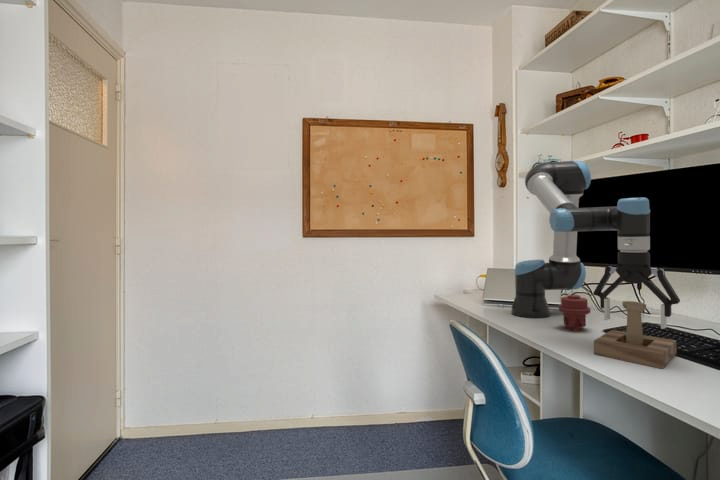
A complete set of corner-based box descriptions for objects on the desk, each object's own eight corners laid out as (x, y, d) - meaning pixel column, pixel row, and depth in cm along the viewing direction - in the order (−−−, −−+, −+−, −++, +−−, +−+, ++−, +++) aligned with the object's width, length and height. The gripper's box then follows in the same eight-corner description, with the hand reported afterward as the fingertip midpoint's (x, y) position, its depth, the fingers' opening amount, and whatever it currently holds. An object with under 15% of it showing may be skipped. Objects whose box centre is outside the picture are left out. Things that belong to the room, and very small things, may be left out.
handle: (632, 357, 104) (632, 305, 103) (619, 350, 110) (618, 301, 110) (651, 358, 103) (650, 305, 103) (636, 350, 110) (635, 301, 109)
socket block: (611, 342, 118) (611, 329, 118) (676, 354, 106) (676, 340, 106) (594, 354, 108) (593, 340, 108) (662, 368, 96) (662, 353, 95)
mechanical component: (584, 325, 138) (595, 333, 128) (555, 325, 140) (564, 332, 130) (583, 293, 138) (595, 298, 128) (554, 293, 140) (563, 298, 130)
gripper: (581, 250, 113) (582, 318, 114) (687, 253, 94) (688, 334, 95) (590, 249, 118) (590, 314, 119) (693, 251, 99) (693, 328, 100)
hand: (634, 323), depth 107 cm, fingers open, 13 cm apart
